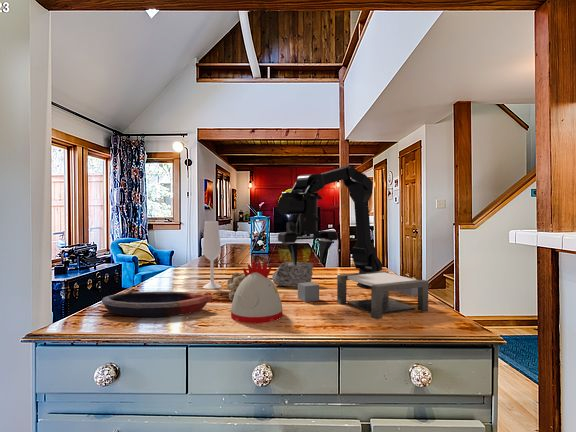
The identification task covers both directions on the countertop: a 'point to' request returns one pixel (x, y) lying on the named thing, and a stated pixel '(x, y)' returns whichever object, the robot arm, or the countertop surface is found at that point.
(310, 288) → the grey matte cube
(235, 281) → the mineral formation
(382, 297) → the frame
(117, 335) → the countertop surface
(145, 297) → the dish
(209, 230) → the champagne flute
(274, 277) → the rock
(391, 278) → the trapdoor
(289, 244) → the robot arm
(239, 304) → the kitchen timer
